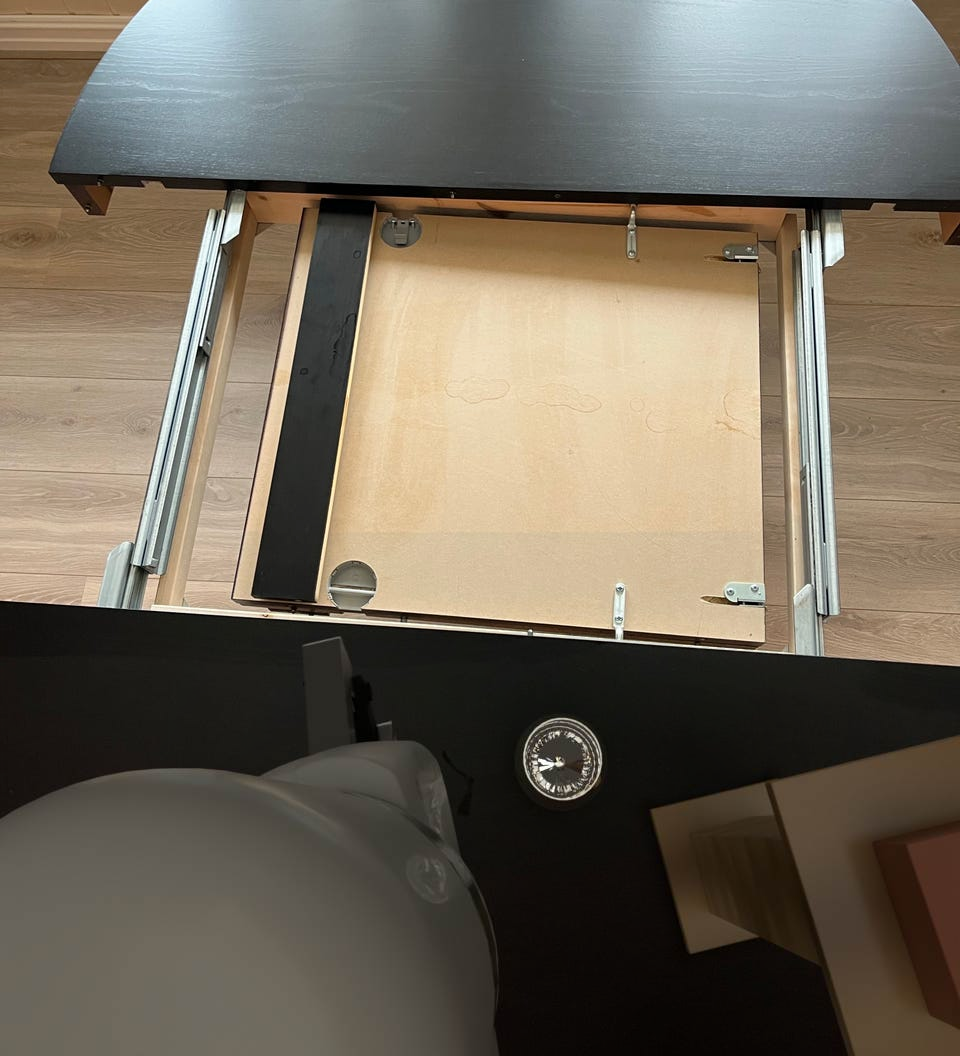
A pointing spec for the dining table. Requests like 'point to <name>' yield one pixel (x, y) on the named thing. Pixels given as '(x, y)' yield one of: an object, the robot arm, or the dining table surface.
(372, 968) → the robot arm
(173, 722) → the dining table surface
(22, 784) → the dining table surface
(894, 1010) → the pedestal
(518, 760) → the wineglass
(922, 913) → the block
